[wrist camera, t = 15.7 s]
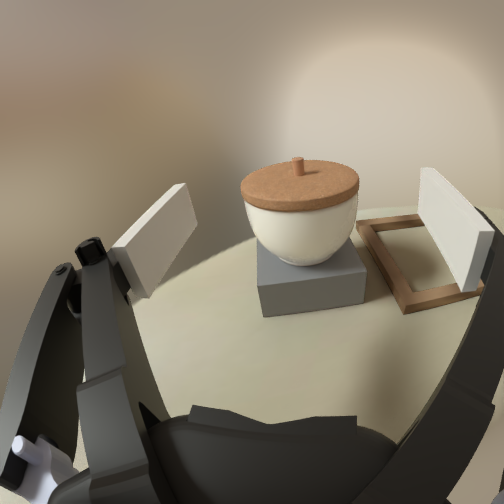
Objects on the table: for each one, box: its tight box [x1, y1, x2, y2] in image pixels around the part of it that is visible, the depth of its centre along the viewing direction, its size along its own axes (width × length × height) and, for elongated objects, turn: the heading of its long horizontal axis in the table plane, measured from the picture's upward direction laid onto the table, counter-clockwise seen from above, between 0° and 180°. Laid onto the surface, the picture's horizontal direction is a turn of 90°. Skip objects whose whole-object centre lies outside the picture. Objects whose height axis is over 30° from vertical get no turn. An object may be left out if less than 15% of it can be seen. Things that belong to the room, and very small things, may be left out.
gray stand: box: [257, 237, 367, 317], centre depth 30 cm, size 10×10×4 cm
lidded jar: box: [241, 157, 359, 266], centre depth 26 cm, size 11×11×9 cm
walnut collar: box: [356, 214, 484, 315], centre depth 30 cm, size 17×17×1 cm
